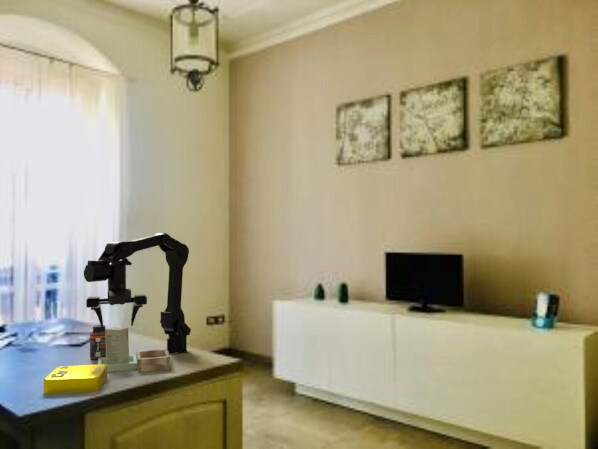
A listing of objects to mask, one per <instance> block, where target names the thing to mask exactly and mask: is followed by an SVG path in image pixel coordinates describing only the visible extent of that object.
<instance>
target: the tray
mask: <svg viewBox="0 0 598 449" xmlns="http://www.w3.org/2000/svg"><path fill="white" fill-rule="evenodd" d="M100 364H105V365H106V357H102V358H98V360H97V365H100ZM132 370H137V359H136V354H129V363H125V364H113V365H107V373H109V372H120V371H121V372H122V371H132Z"/></svg>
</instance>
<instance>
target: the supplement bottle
mask: <svg viewBox="0 0 598 449" xmlns="http://www.w3.org/2000/svg"><path fill="white" fill-rule="evenodd" d="M105 329H106V325H105V324H103V328H102V327H101V324H96V325H93V326H92V332H90V334H89V357H90V358H89V359H90V360H94V361H95V360H97V361H98V358H102V357H106V338H105Z"/></svg>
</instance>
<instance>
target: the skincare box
mask: <svg viewBox="0 0 598 449" xmlns="http://www.w3.org/2000/svg"><path fill="white" fill-rule="evenodd" d="M105 338H106V365H113V364H125V363H129V355H130V352H129V351H130V345H129V342H130V341H129V327H117V326H112V327H109V328H105Z"/></svg>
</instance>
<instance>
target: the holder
mask: <svg viewBox="0 0 598 449" xmlns="http://www.w3.org/2000/svg"><path fill="white" fill-rule="evenodd" d="M135 353H136V354H135V355H136V359H137V369H136V370H137V373H144V372H153V371H154V372H155V371H165V370H171V355H170V353H169V352H168V351H167V348H160V349H159V348H158V349H148V350H136V352H135Z"/></svg>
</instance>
